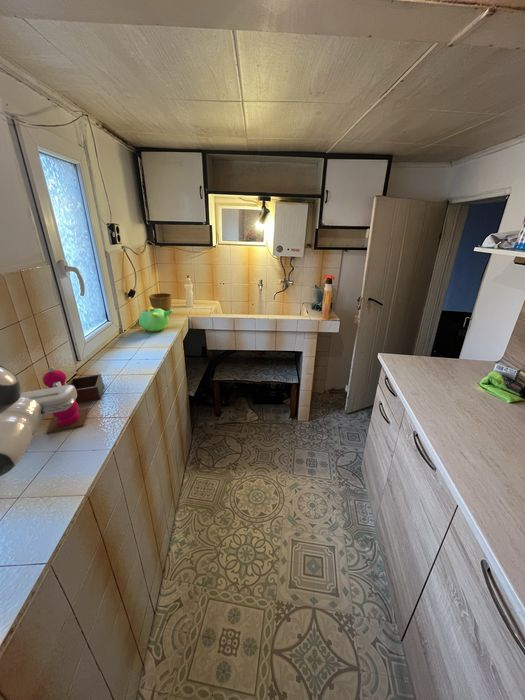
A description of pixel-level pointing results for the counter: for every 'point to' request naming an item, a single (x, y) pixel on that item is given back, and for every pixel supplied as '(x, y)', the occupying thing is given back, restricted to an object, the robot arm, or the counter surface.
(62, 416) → the pepper mill
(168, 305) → the plant pot
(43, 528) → the counter surface
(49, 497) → the counter surface
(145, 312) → the toy bird
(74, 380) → the mill holder
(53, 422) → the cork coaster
